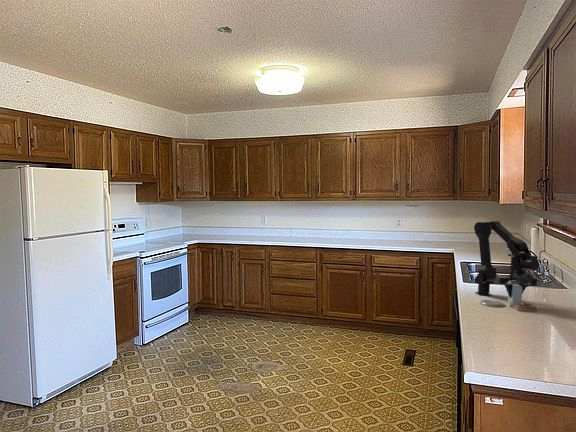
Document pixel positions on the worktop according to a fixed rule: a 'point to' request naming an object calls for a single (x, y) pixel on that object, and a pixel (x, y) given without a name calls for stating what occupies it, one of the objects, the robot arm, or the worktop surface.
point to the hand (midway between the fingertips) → (514, 297)
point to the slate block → (516, 294)
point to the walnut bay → (523, 307)
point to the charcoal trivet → (492, 303)
